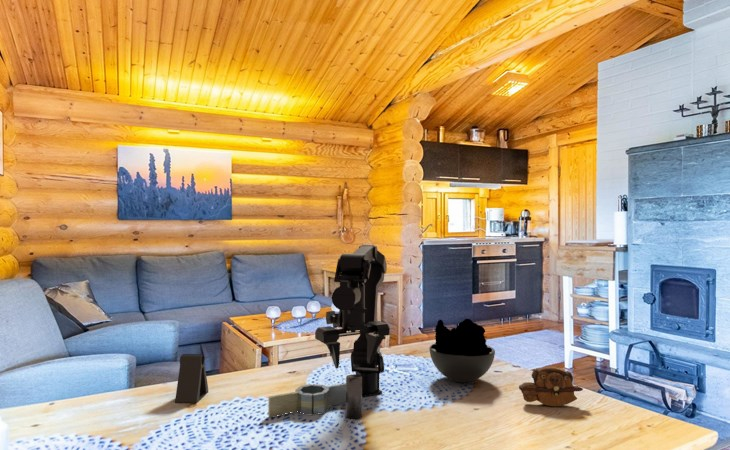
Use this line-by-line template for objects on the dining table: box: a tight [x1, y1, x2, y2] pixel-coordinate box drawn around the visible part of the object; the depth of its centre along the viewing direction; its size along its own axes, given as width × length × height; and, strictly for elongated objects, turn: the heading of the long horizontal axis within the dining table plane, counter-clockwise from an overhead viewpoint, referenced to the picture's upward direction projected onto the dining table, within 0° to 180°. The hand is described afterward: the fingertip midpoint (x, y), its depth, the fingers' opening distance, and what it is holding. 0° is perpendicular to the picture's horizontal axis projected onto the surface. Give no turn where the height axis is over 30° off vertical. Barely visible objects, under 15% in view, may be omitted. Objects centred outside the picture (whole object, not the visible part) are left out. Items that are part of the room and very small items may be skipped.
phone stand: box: [174, 353, 209, 404], centre depth 136 cm, size 9×6×12 cm, turn 178°
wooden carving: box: [518, 366, 584, 407], centre depth 131 cm, size 16×5×10 cm, turn 89°
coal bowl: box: [428, 318, 496, 383], centre depth 152 cm, size 20×20×19 cm
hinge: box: [267, 382, 346, 418], centre depth 128 cm, size 24×8×5 cm, turn 120°
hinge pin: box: [345, 374, 363, 421], centre depth 123 cm, size 4×4×10 cm
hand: (353, 365), depth 123 cm, fingers open, 9 cm apart
